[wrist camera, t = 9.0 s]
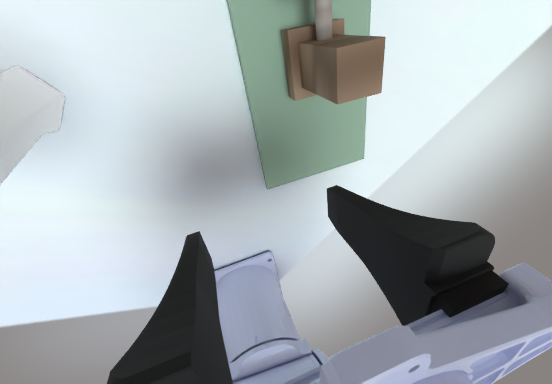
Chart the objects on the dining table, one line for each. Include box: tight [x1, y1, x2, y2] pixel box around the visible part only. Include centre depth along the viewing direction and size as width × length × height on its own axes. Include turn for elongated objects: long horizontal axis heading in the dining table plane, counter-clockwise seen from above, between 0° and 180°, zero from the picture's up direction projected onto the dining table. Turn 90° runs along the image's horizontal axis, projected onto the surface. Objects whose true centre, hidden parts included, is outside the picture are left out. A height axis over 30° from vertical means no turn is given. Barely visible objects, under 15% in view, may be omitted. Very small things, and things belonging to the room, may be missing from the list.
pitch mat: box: [227, 0, 371, 189], centre depth 20 cm, size 19×10×1 cm, turn 9°
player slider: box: [281, 0, 385, 105], centre depth 15 cm, size 8×4×6 cm, turn 9°
